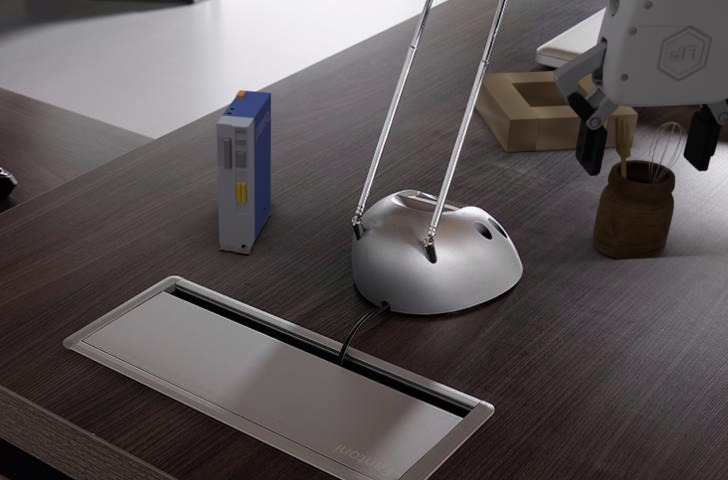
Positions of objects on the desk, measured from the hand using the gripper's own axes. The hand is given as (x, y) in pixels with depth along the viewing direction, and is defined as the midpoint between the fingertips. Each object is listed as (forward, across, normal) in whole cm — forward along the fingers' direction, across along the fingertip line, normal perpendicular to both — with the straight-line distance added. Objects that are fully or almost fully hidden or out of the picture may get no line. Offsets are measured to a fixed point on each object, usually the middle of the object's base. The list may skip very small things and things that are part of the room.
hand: (641, 166), depth 88 cm
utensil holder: (+8, 0, 0) cm, 8 cm away
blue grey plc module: (+8, -32, +6) cm, 33 cm away
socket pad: (+8, +2, +27) cm, 28 cm away
